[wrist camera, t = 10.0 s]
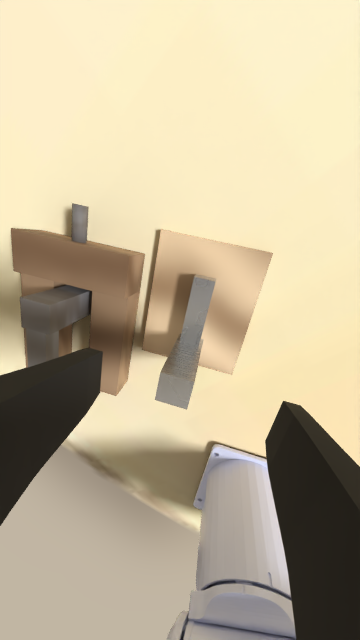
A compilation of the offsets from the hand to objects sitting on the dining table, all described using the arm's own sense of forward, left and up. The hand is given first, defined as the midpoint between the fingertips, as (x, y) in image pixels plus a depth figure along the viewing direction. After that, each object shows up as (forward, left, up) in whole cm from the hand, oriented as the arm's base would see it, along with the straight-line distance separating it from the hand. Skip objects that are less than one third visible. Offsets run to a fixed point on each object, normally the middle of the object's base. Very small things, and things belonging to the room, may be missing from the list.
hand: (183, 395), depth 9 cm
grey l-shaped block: (0, +1, -10) cm, 9 cm away
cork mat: (+1, +1, -10) cm, 10 cm away
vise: (-1, +10, -10) cm, 14 cm away
